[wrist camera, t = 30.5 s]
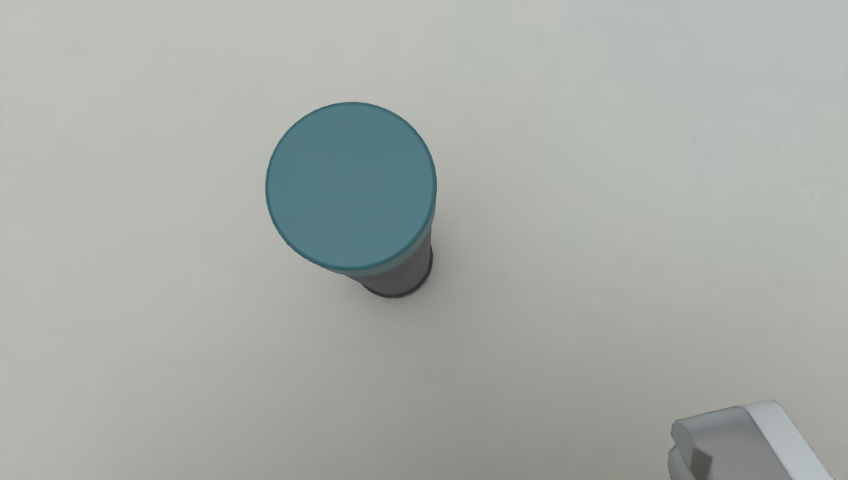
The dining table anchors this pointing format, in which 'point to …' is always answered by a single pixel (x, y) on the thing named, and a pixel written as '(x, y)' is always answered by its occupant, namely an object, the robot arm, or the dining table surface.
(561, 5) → the dining table surface
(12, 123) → the dining table surface
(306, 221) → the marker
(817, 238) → the dining table surface
